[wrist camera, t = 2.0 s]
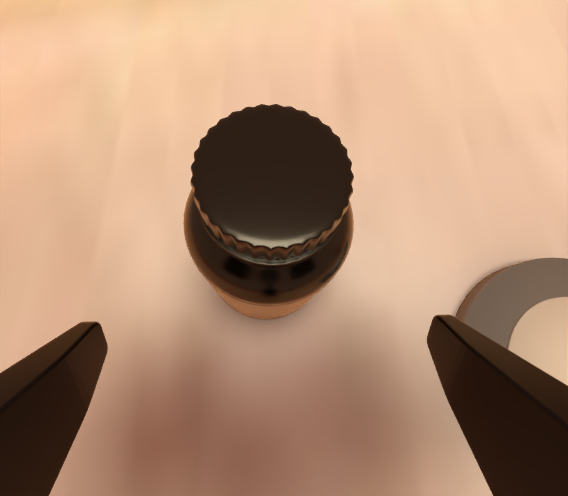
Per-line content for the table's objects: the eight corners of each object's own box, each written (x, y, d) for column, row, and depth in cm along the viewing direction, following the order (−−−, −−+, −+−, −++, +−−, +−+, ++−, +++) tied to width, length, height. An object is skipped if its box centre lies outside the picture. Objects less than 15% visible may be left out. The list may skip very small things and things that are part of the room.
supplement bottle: (230, 336, 19) (176, 323, 8) (202, 233, 21) (125, 101, 10) (335, 301, 20) (426, 244, 9) (300, 206, 22) (337, 54, 10)
